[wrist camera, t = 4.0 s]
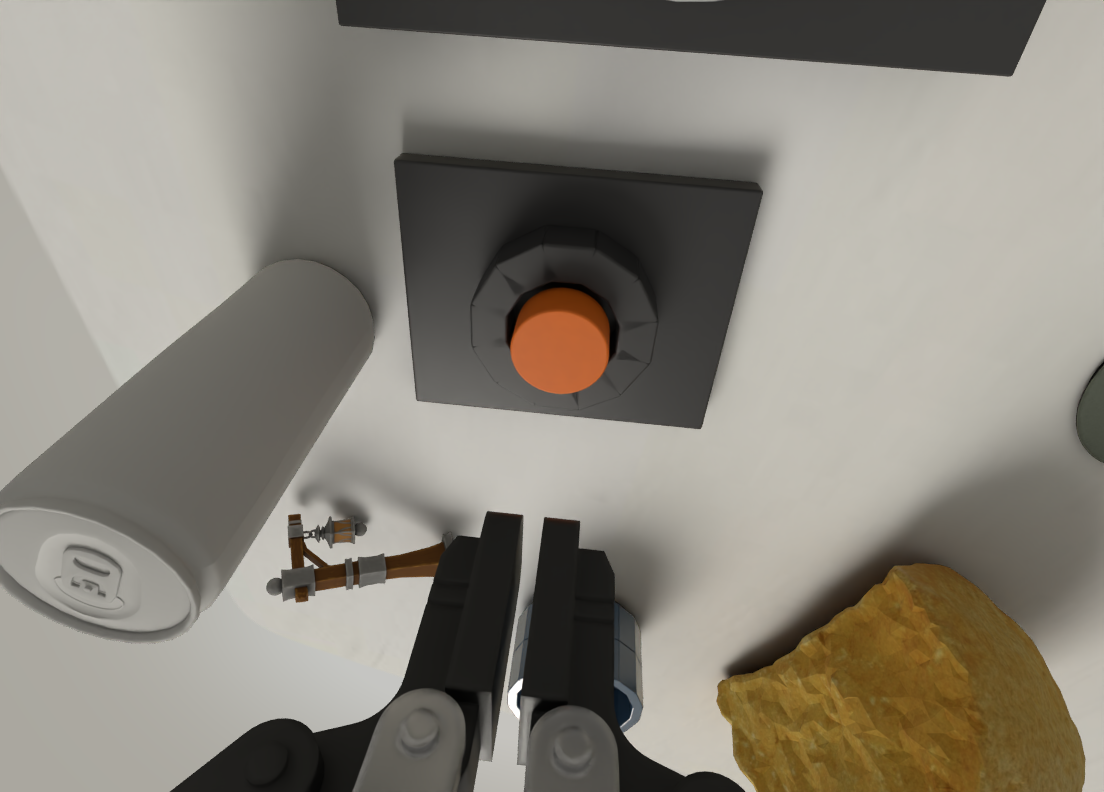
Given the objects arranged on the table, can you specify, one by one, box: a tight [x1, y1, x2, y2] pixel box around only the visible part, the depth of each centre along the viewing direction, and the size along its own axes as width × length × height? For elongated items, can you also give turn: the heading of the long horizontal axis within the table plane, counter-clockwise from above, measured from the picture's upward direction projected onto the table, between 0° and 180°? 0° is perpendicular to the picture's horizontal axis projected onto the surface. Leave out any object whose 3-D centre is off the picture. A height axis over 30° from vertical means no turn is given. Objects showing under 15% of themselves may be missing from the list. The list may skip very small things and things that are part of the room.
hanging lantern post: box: [266, 514, 453, 602], centre depth 28 cm, size 2×8×4 cm, turn 77°
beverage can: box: [0, 259, 375, 643], centre depth 17 cm, size 5×5×12 cm
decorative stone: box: [717, 563, 1085, 792], centre depth 28 cm, size 13×15×15 cm
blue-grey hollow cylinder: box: [507, 601, 643, 732], centre depth 30 cm, size 6×6×4 cm
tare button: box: [510, 287, 610, 394], centre depth 19 cm, size 3×3×2 cm
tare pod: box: [394, 153, 763, 429], centre depth 20 cm, size 11×9×2 cm
